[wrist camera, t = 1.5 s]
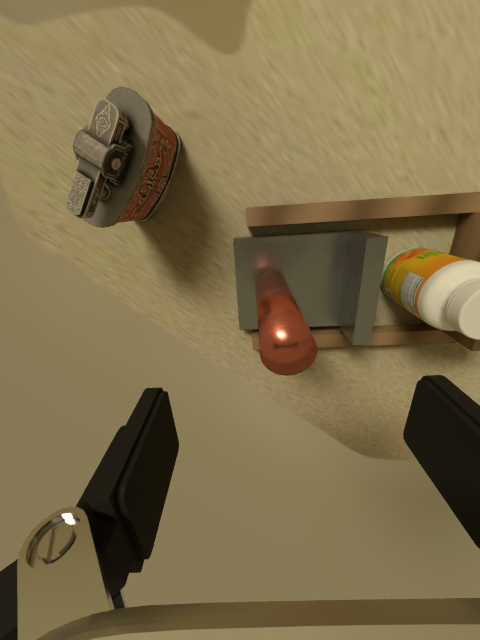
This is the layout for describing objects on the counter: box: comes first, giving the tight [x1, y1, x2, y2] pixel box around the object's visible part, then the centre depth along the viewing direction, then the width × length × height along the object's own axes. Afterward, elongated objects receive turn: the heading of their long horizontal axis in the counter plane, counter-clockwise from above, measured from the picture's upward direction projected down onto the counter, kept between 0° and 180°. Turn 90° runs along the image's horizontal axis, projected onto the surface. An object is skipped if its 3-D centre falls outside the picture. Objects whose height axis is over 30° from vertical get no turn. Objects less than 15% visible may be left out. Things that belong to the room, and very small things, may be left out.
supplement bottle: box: [381, 248, 480, 340], centre depth 21 cm, size 5×5×10 cm
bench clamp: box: [246, 192, 480, 351], centre depth 23 cm, size 22×14×6 cm, turn 94°
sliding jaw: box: [233, 230, 388, 375], centre depth 19 cm, size 12×9×13 cm
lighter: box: [65, 87, 182, 228], centre depth 18 cm, size 8×3×10 cm, turn 148°
